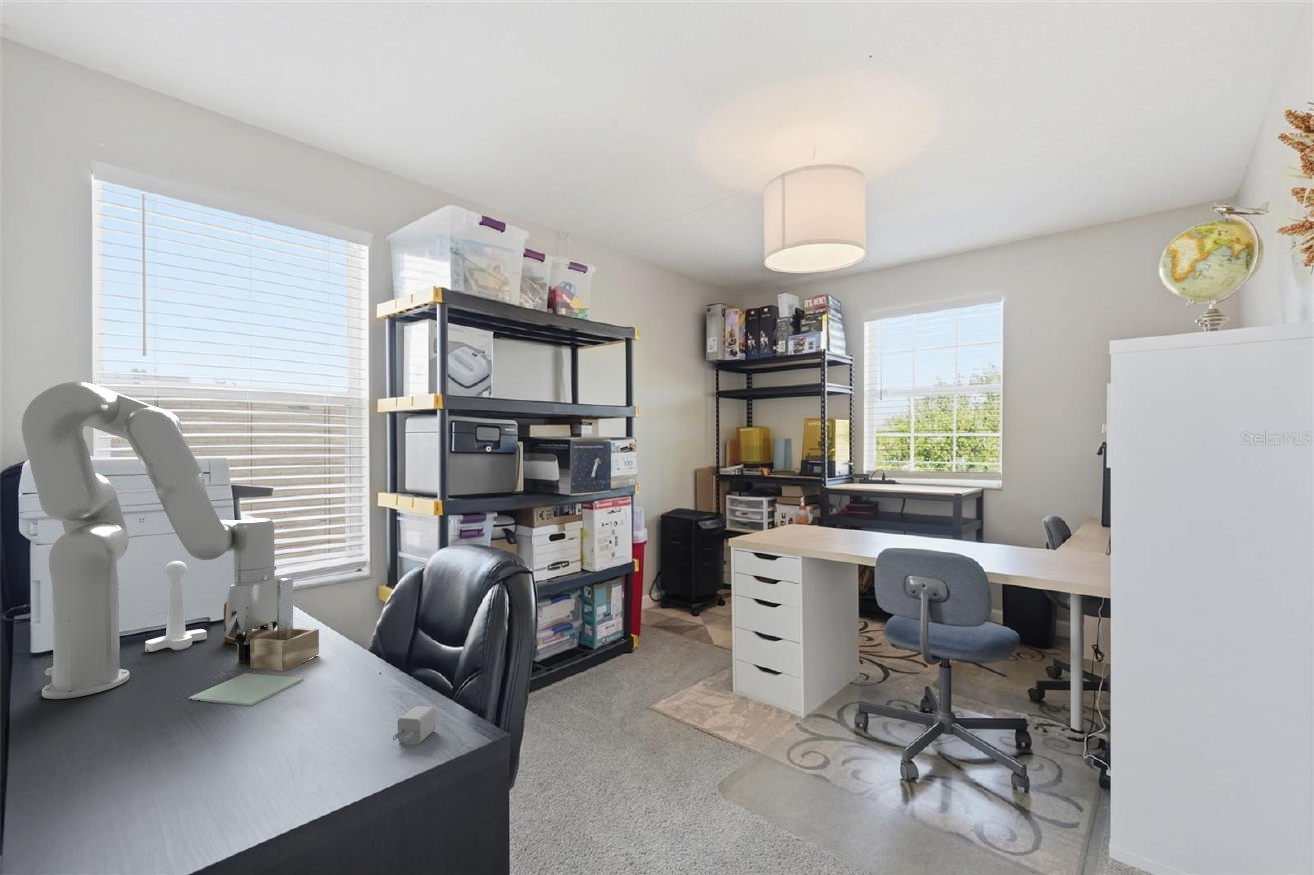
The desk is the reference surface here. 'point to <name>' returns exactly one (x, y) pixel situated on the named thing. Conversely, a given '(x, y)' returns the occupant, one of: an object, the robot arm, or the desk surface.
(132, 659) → the desk surface
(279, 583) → the post
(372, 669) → the desk surface
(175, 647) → the joystick
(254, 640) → the beige wooden open box
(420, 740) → the usb wall charger
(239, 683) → the mat
